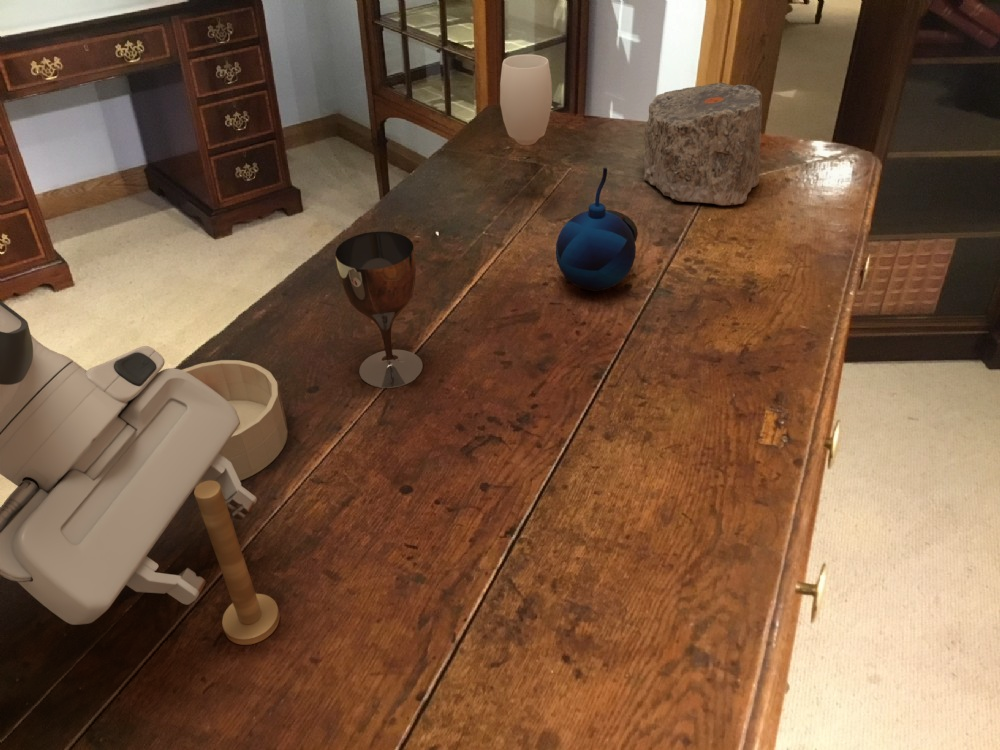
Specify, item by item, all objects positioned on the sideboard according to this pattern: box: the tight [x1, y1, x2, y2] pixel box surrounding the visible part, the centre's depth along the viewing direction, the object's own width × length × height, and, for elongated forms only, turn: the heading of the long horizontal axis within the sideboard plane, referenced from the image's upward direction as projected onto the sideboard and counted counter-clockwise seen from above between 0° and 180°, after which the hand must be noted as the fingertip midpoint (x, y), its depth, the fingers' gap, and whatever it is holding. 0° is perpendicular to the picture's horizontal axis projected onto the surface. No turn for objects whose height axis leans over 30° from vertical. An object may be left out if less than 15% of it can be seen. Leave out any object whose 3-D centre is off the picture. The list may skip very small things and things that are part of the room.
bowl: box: [181, 359, 289, 489], centre depth 85 cm, size 13×13×6 cm
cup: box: [499, 53, 553, 146], centre depth 121 cm, size 7×7×21 cm
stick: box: [193, 480, 281, 646], centre depth 64 cm, size 4×4×15 cm
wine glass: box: [335, 231, 424, 389], centre depth 91 cm, size 8×8×15 cm
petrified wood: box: [643, 82, 763, 206], centre depth 126 cm, size 19×17×15 cm
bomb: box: [555, 167, 639, 292], centre depth 104 cm, size 10×11×15 cm
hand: (224, 550), depth 64 cm, fingers open, 7 cm apart
